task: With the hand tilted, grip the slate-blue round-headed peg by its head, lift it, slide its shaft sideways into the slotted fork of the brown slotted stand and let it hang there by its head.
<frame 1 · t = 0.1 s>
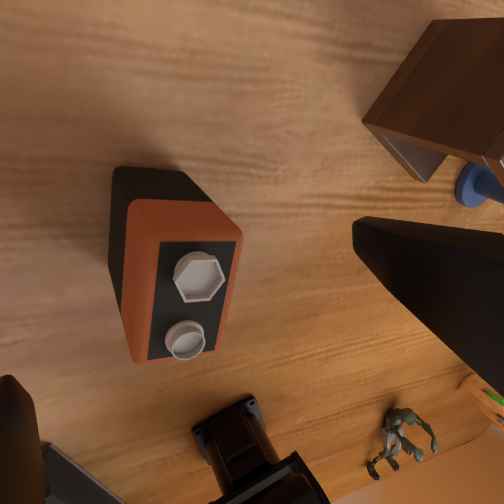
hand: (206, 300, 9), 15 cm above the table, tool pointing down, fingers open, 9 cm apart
battery: (145, 219, 23), on the table
peg: (474, 179, 35), on the table
brown slotted stand: (424, 110, 29), on the table
milkshake: (463, 382, 57), on the table
zombie figurine: (385, 428, 53), on the table
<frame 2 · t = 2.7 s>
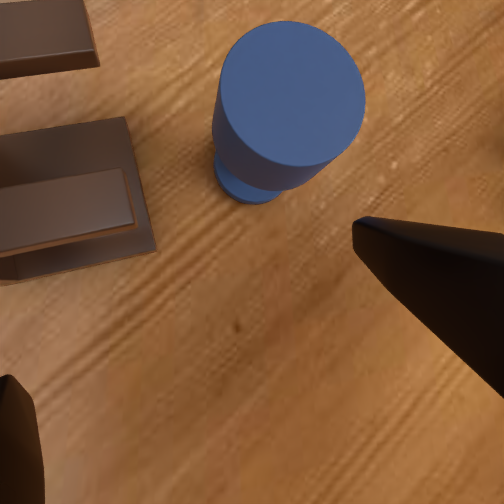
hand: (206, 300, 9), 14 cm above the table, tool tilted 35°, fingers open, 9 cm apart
peg: (252, 166, 24), on the table
brown slotted stand: (73, 200, 22), on the table
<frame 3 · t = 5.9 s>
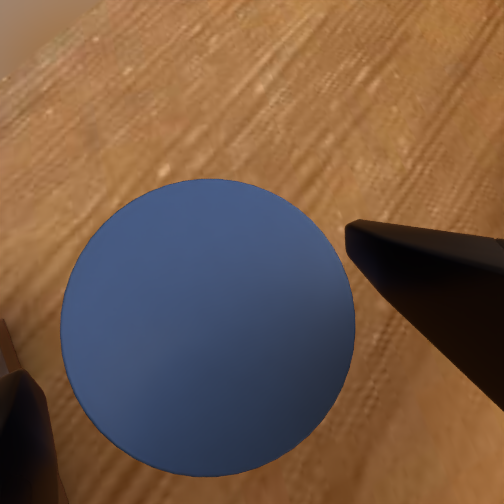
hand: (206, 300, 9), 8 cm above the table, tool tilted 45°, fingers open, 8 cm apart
peg: (199, 333, 17), on the table
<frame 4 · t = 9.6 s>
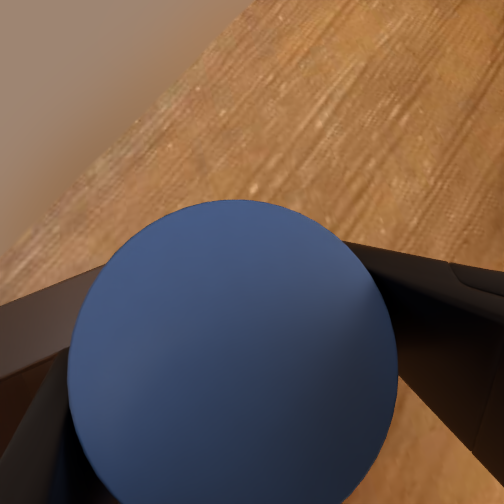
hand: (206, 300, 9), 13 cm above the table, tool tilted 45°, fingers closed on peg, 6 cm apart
peg: (209, 351, 16), point 6 cm above the table, touching gripper
brown slotted stand: (112, 393, 20), on the table
when the fingers open (12 cm above the table, at t = 12.4 s): peg stays where it is, resting on brown slotted stand.
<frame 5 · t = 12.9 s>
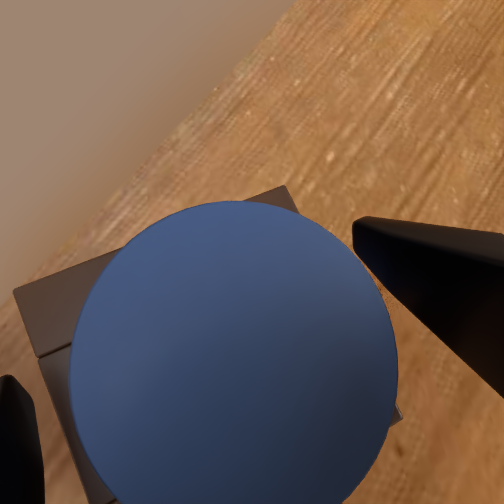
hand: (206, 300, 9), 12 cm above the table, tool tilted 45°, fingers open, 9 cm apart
peg: (210, 351, 16), point 5 cm above the table, touching brown slotted stand
brown slotted stand: (205, 351, 21), on the table
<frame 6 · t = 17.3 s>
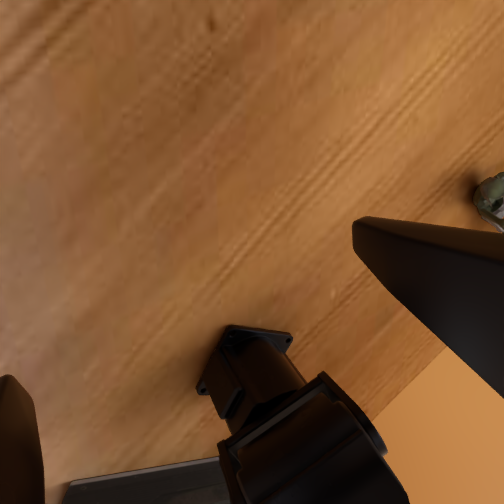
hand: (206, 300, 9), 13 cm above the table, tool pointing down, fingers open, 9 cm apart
zombie figurine: (490, 207, 36), on the table
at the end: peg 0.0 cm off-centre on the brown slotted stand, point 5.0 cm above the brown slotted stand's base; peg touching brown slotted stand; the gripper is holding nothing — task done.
